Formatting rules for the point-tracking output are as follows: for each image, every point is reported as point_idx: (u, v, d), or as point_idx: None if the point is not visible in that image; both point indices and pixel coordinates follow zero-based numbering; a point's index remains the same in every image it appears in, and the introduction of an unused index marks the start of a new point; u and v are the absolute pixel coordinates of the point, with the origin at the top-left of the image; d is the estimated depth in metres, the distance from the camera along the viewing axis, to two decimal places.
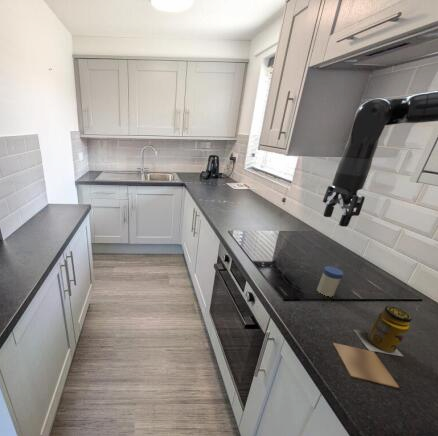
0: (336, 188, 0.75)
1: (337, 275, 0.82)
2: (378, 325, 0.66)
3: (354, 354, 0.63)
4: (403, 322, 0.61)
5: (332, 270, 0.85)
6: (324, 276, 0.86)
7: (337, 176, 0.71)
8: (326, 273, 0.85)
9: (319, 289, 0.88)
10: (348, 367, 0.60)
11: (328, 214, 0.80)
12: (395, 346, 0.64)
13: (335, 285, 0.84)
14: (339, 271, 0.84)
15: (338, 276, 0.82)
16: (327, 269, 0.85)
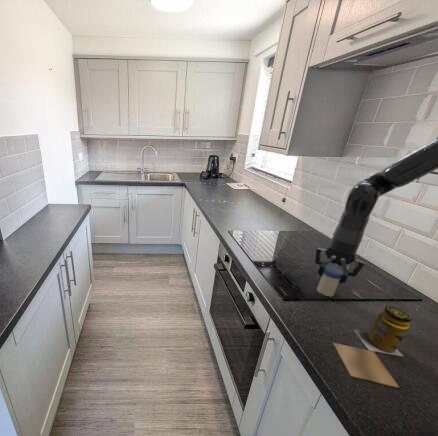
0: (330, 250, 0.83)
1: (337, 275, 0.82)
2: (378, 325, 0.66)
3: (354, 354, 0.63)
4: (403, 322, 0.61)
5: (332, 270, 0.85)
6: (324, 276, 0.86)
7: (344, 245, 0.78)
8: (326, 273, 0.85)
9: (319, 289, 0.88)
10: (348, 367, 0.60)
11: (322, 273, 0.88)
12: (395, 346, 0.64)
13: (335, 285, 0.84)
14: (339, 271, 0.84)
15: (338, 276, 0.82)
16: (327, 269, 0.85)
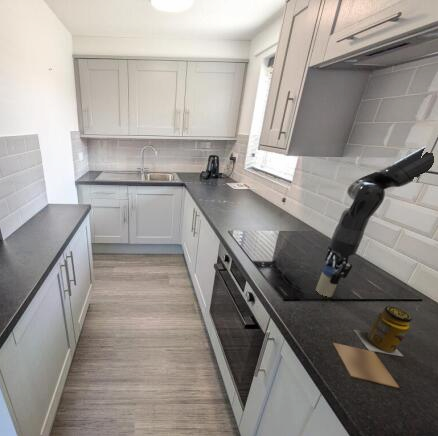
0: None
1: None
2: (378, 325, 0.66)
3: (354, 354, 0.63)
4: (403, 322, 0.61)
5: None
6: (323, 277, 0.85)
7: None
8: None
9: (318, 290, 0.88)
10: (348, 367, 0.60)
11: None
12: (395, 346, 0.64)
13: (334, 285, 0.84)
14: (329, 267, 0.86)
15: None
16: None
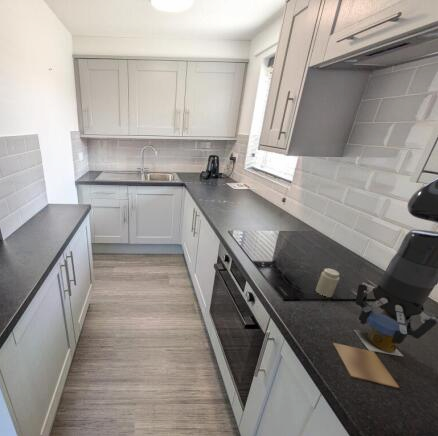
0: None
1: None
2: None
3: (354, 354, 0.63)
4: None
5: (386, 320, 0.56)
6: (323, 277, 0.85)
7: None
8: None
9: (318, 290, 0.87)
10: (348, 367, 0.60)
11: None
12: (395, 346, 0.64)
13: (334, 285, 0.84)
14: (374, 317, 0.57)
15: None
16: (395, 325, 0.55)
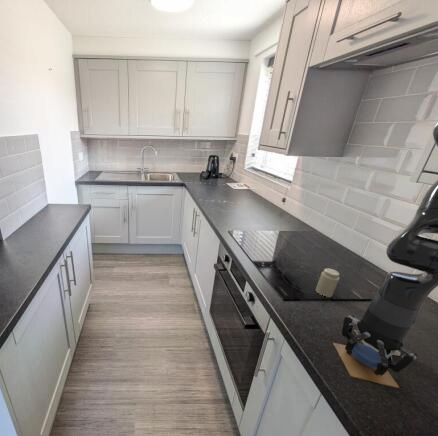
0: None
1: None
2: None
3: None
4: None
5: (370, 352, 0.60)
6: (323, 277, 0.85)
7: None
8: None
9: (318, 290, 0.87)
10: (348, 367, 0.60)
11: None
12: None
13: (334, 285, 0.84)
14: (359, 348, 0.61)
15: None
16: (378, 357, 0.59)
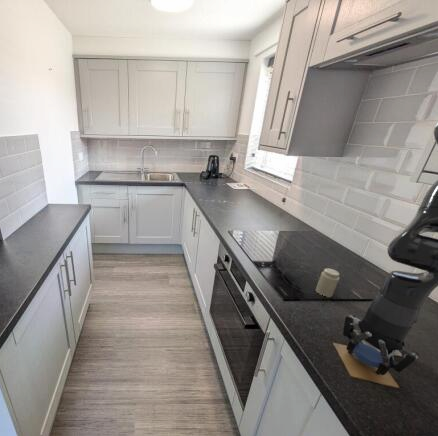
0: None
1: None
2: None
3: None
4: None
5: (371, 352, 0.60)
6: (323, 277, 0.85)
7: None
8: None
9: (318, 290, 0.87)
10: (348, 367, 0.60)
11: (378, 369, 0.58)
12: None
13: (334, 285, 0.84)
14: (360, 348, 0.61)
15: None
16: (380, 356, 0.59)
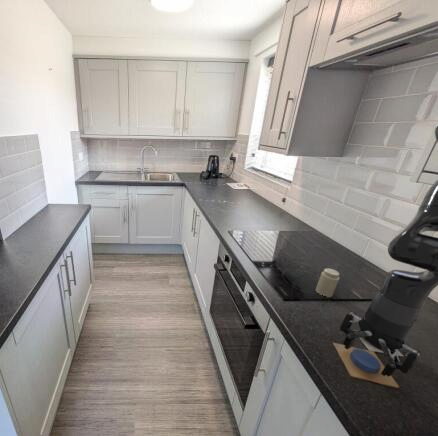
0: None
1: None
2: None
3: None
4: None
5: (368, 358, 0.61)
6: (323, 277, 0.85)
7: None
8: None
9: (318, 290, 0.87)
10: (348, 367, 0.60)
11: None
12: None
13: (334, 285, 0.84)
14: (357, 354, 0.62)
15: None
16: (376, 363, 0.59)
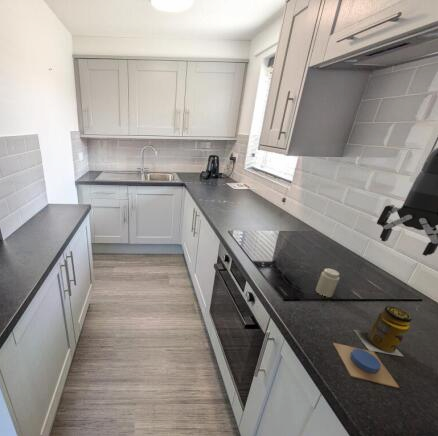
0: None
1: None
2: (378, 325, 0.66)
3: None
4: (403, 322, 0.61)
5: (368, 358, 0.61)
6: (323, 277, 0.85)
7: None
8: None
9: (318, 290, 0.87)
10: (348, 367, 0.60)
11: None
12: (395, 346, 0.64)
13: (334, 285, 0.84)
14: (357, 354, 0.62)
15: None
16: (376, 363, 0.59)
